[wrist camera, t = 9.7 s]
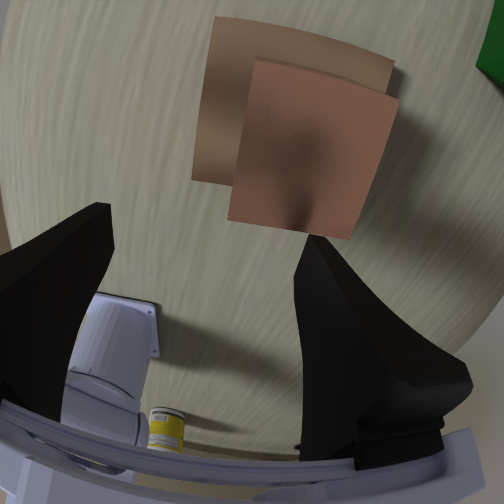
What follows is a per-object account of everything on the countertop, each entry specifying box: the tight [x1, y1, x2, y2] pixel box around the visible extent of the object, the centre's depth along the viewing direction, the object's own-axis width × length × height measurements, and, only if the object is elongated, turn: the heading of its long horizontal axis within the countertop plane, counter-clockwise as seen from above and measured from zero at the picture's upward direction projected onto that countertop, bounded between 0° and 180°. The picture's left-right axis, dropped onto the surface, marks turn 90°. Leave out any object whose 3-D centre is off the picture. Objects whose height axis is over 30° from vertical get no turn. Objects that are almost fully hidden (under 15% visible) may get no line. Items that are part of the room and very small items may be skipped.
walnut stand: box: [191, 16, 395, 186], centre depth 16 cm, size 10×10×2 cm
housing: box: [227, 57, 400, 240], centre depth 13 cm, size 5×6×7 cm
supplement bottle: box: [147, 408, 185, 454], centre depth 42 cm, size 6×6×11 cm
